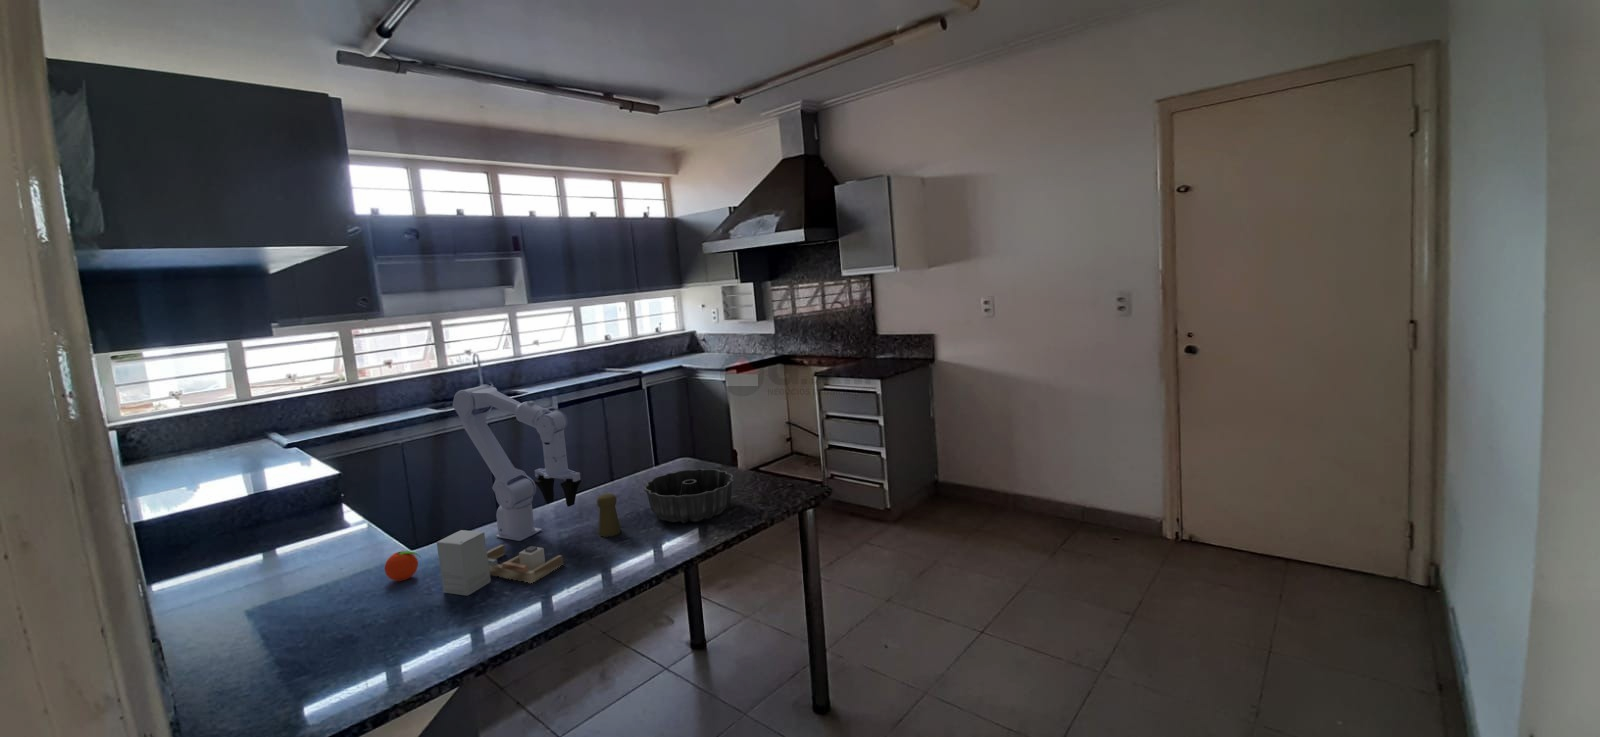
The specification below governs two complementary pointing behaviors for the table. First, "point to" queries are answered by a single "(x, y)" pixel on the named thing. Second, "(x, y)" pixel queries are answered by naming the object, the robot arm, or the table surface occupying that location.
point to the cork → (608, 516)
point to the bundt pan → (690, 494)
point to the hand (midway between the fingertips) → (560, 503)
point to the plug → (532, 557)
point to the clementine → (401, 565)
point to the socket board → (519, 566)
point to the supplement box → (463, 562)
